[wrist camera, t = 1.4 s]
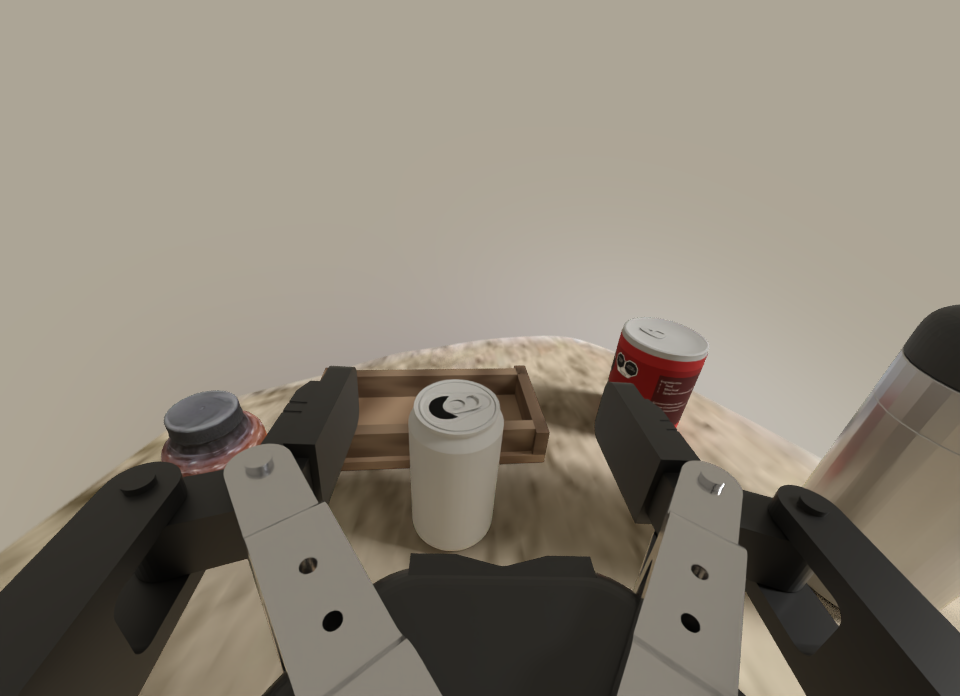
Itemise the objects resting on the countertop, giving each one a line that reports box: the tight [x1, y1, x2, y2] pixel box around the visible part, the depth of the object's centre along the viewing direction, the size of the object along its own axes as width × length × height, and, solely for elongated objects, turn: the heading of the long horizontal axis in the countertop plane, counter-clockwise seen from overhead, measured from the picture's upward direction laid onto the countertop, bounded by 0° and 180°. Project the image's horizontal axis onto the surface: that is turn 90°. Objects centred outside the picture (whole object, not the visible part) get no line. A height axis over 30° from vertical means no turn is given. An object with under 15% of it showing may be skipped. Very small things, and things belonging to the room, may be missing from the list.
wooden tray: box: [320, 366, 550, 471], centre depth 40 cm, size 22×11×4 cm, turn 96°
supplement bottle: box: [161, 391, 267, 477], centre depth 27 cm, size 6×6×11 cm
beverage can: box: [408, 379, 504, 551], centre depth 28 cm, size 6×6×12 cm
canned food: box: [607, 317, 709, 427], centre depth 41 cm, size 8×8×11 cm
